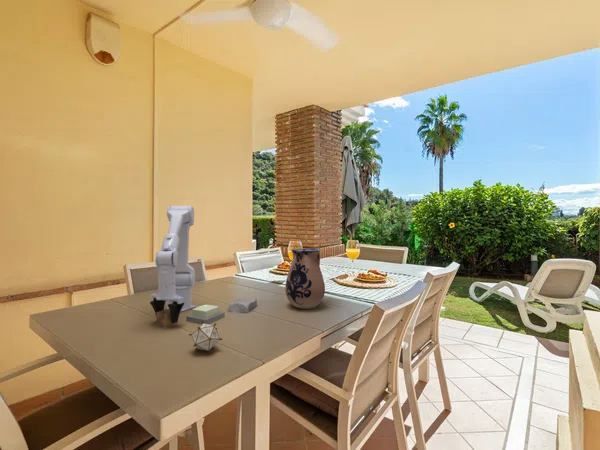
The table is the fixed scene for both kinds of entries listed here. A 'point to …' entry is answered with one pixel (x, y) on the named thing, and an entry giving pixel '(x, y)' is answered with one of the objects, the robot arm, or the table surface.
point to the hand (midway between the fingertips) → (167, 320)
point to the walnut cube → (164, 319)
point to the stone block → (243, 305)
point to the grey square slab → (206, 320)
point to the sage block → (205, 311)
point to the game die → (205, 337)
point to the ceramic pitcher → (305, 279)
